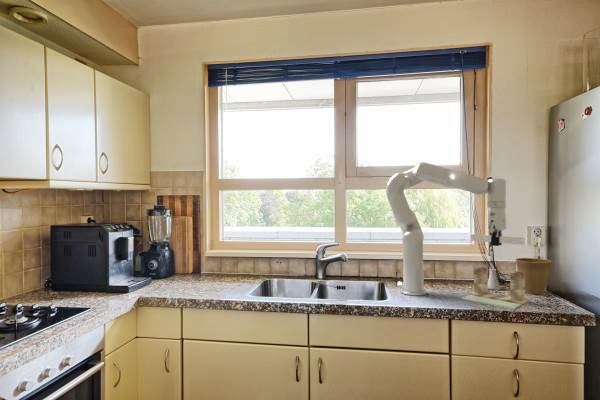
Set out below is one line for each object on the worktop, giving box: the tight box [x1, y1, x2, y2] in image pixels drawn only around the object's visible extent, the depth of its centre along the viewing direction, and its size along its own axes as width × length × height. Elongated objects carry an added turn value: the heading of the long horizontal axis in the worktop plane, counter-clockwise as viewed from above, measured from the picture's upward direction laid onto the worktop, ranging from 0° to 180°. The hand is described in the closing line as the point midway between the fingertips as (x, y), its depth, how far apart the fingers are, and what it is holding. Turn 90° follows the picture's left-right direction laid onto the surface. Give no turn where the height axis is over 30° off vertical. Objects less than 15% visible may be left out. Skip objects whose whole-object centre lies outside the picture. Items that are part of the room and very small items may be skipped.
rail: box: [470, 233, 525, 246], centre depth 172 cm, size 22×3×3 cm, turn 44°
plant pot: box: [515, 257, 552, 295], centre depth 182 cm, size 15×15×16 cm
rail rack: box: [470, 266, 529, 305], centre depth 173 cm, size 22×8×13 cm, turn 42°
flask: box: [488, 268, 501, 291], centre depth 191 cm, size 7×7×10 cm
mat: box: [461, 294, 521, 310], centre depth 166 cm, size 22×8×1 cm, turn 42°
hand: (496, 244), depth 172 cm, fingers closed on rail, 2 cm apart
